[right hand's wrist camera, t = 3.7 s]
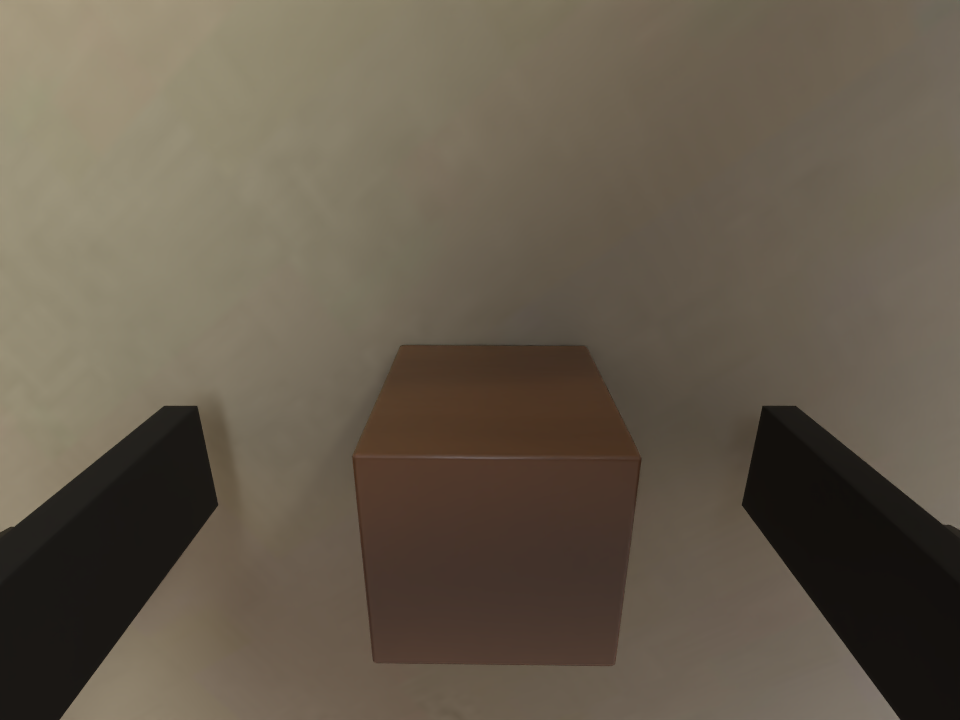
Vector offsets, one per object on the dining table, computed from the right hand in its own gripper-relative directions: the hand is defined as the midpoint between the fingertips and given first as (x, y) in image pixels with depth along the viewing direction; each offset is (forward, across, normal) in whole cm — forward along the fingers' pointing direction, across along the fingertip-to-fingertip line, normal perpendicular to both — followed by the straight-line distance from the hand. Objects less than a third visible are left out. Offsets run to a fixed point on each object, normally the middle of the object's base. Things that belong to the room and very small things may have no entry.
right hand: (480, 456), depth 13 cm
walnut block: (+1, 0, 0) cm, 1 cm away
